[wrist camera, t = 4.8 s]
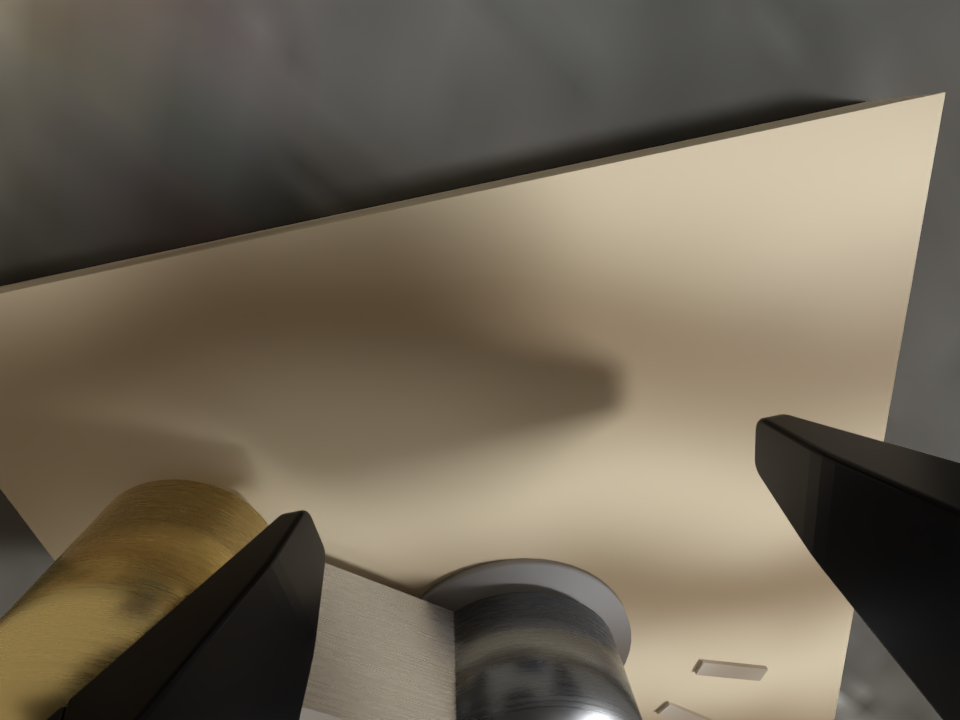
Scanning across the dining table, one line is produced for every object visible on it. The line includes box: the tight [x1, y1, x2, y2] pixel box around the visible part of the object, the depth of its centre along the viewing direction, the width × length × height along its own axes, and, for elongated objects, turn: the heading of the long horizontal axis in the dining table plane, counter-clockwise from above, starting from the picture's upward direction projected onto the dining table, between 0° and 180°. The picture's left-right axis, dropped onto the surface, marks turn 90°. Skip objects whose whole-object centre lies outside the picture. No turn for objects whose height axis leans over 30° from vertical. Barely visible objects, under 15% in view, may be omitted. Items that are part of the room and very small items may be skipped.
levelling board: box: [0, 92, 945, 720], centre depth 13 cm, size 20×18×2 cm
